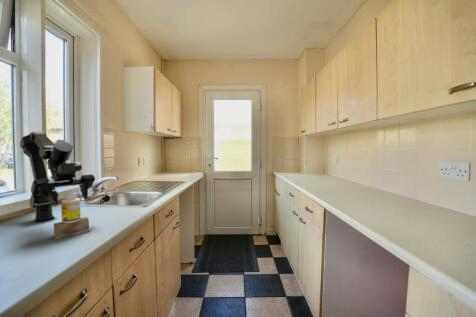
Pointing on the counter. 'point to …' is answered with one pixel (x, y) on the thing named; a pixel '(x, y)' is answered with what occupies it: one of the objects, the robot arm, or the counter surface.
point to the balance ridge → (71, 228)
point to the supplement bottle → (70, 208)
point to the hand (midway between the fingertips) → (72, 201)
